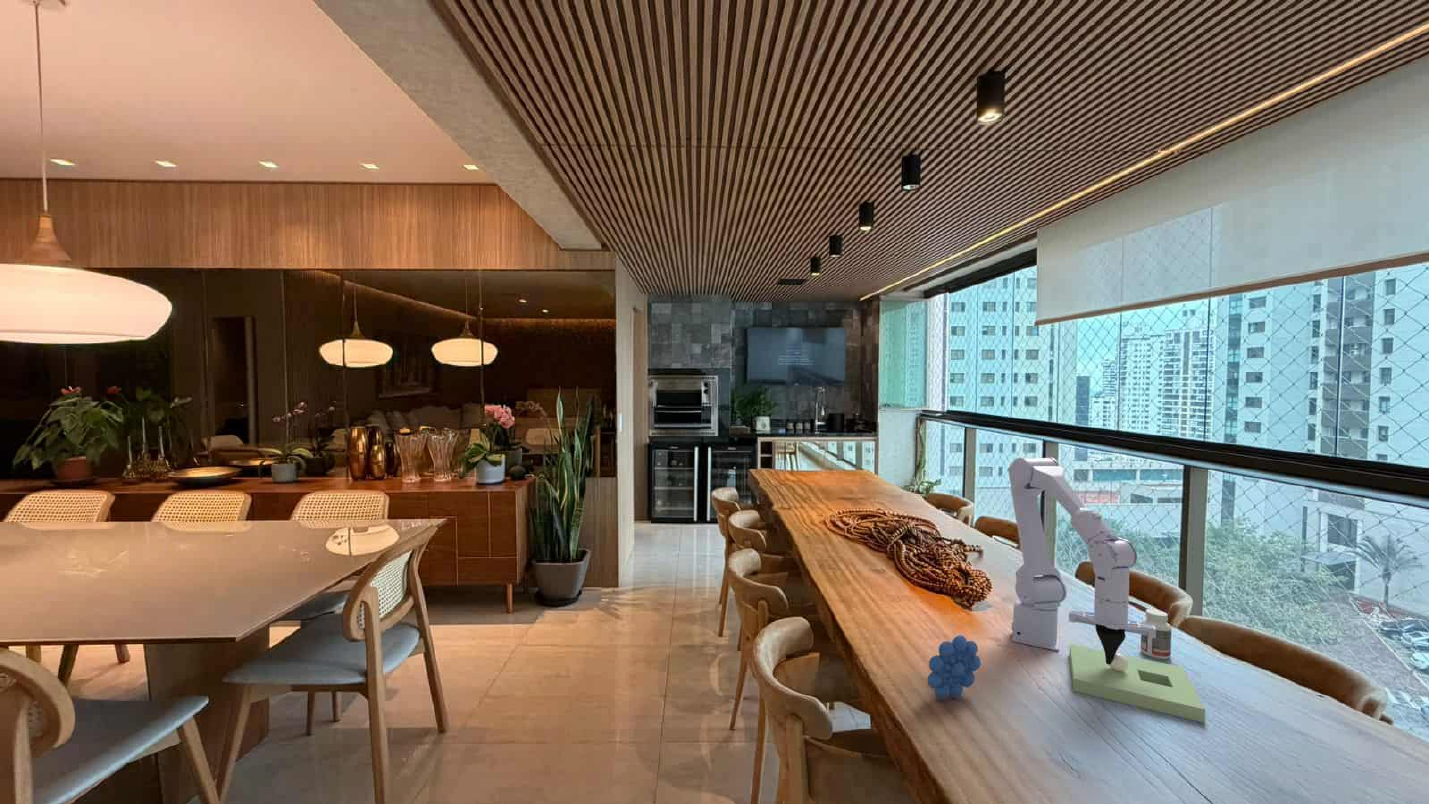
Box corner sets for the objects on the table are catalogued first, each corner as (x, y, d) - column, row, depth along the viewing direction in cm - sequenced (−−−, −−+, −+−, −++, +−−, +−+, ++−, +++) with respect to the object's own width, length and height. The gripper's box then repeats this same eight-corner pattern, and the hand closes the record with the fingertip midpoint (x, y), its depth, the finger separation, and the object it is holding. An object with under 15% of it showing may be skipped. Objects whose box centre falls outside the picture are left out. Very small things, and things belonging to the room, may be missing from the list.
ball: (1104, 665, 113) (1115, 653, 112) (1102, 658, 116) (1113, 646, 115) (1121, 678, 112) (1133, 666, 111) (1119, 670, 115) (1131, 658, 114)
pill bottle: (1174, 656, 125) (1175, 613, 125) (1165, 662, 122) (1166, 619, 122) (1145, 646, 130) (1147, 606, 130) (1136, 652, 127) (1137, 610, 127)
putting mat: (1073, 690, 110) (1073, 678, 110) (1069, 654, 125) (1069, 643, 125) (1204, 723, 100) (1205, 709, 100) (1182, 679, 115) (1183, 667, 115)
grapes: (963, 682, 112) (964, 624, 112) (987, 700, 106) (989, 639, 106) (913, 689, 109) (915, 630, 109) (936, 708, 103) (937, 645, 103)
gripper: (1070, 596, 114) (1068, 661, 114) (1159, 612, 107) (1157, 681, 107) (1069, 586, 120) (1067, 648, 120) (1153, 600, 113) (1151, 666, 113)
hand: (1109, 662), depth 114 cm, fingers closed, pressing on ball
